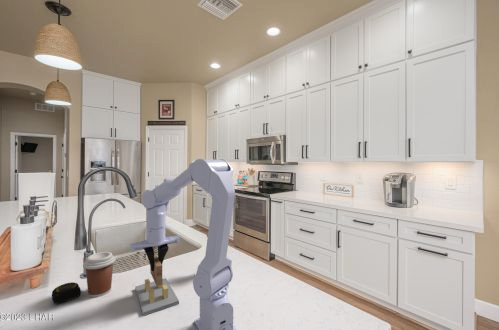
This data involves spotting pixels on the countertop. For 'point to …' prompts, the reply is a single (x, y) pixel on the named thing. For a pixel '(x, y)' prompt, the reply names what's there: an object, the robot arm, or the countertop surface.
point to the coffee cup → (99, 273)
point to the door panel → (157, 271)
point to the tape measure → (65, 292)
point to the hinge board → (155, 296)
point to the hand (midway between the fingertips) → (156, 268)
